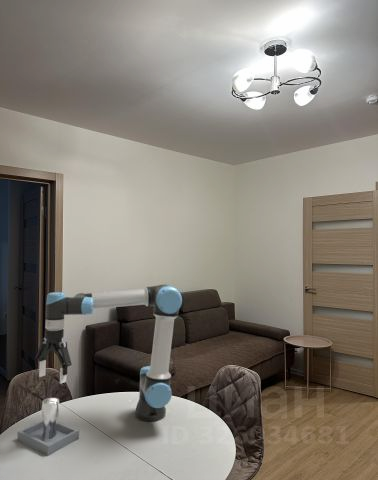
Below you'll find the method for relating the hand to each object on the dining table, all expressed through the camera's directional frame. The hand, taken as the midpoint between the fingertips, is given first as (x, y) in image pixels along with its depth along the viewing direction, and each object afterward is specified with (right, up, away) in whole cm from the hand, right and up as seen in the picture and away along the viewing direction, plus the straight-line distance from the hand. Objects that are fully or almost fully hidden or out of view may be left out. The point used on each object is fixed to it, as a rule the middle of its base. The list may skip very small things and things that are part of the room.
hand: (52, 379), depth 147 cm
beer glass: (-1, -24, -2) cm, 24 cm away
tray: (-1, -25, -2) cm, 25 cm away
